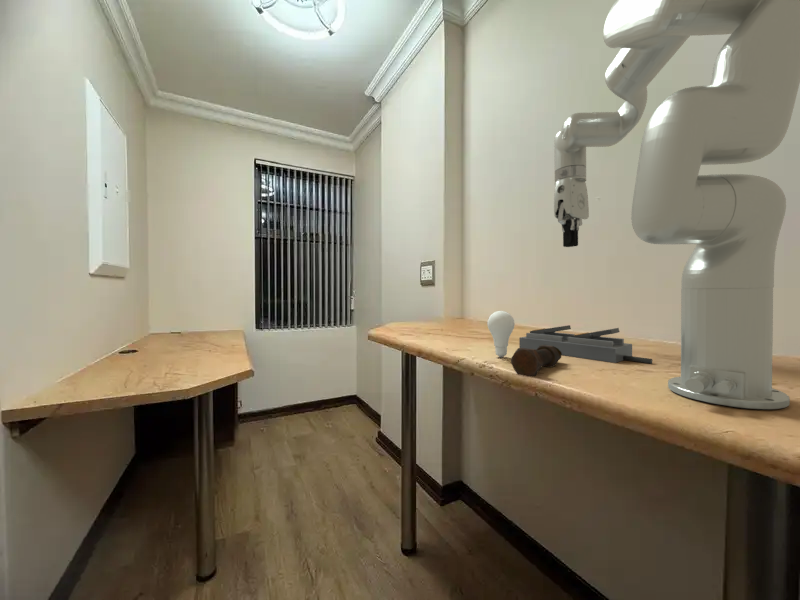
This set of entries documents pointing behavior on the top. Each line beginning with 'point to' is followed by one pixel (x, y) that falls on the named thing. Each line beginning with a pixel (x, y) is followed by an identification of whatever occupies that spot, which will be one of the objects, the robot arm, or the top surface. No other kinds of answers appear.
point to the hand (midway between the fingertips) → (570, 246)
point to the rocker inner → (596, 333)
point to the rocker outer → (550, 330)
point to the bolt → (534, 359)
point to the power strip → (584, 346)
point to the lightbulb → (501, 330)
